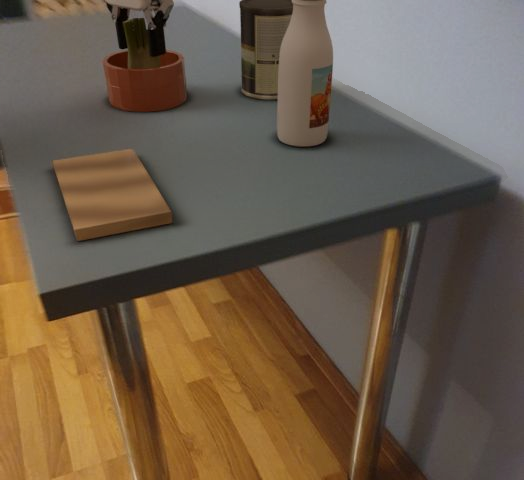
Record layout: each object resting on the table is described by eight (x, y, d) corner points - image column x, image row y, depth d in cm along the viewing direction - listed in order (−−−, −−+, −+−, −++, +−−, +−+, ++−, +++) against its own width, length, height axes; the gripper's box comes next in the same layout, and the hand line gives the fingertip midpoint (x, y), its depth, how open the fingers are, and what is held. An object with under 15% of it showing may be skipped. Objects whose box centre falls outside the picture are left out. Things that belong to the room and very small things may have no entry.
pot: (93, 100, 96) (85, 60, 92) (150, 82, 104) (145, 44, 100) (146, 117, 90) (140, 75, 86) (202, 97, 98) (200, 57, 94)
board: (54, 171, 74) (51, 160, 73) (134, 158, 78) (132, 148, 77) (77, 241, 61) (74, 229, 60) (172, 223, 64) (171, 211, 63)
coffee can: (230, 94, 99) (227, 3, 90) (258, 79, 106) (258, -6, 97) (280, 103, 96) (282, 10, 86) (306, 88, 102) (311, -1, 93)
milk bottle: (290, 151, 80) (296, -11, 67) (268, 133, 85) (270, -20, 72) (336, 143, 82) (351, -15, 69) (312, 126, 88) (321, -24, 74)
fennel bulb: (163, 89, 99) (155, 13, 91) (165, 98, 95) (157, 19, 87) (130, 92, 98) (119, 14, 90) (132, 100, 95) (120, 21, 87)
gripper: (67, -85, 82) (91, 47, 94) (146, -79, 74) (162, 65, 86) (106, -88, 86) (125, 39, 98) (185, -82, 78) (195, 55, 90)
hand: (142, 50), depth 92 cm, fingers open, 6 cm apart
